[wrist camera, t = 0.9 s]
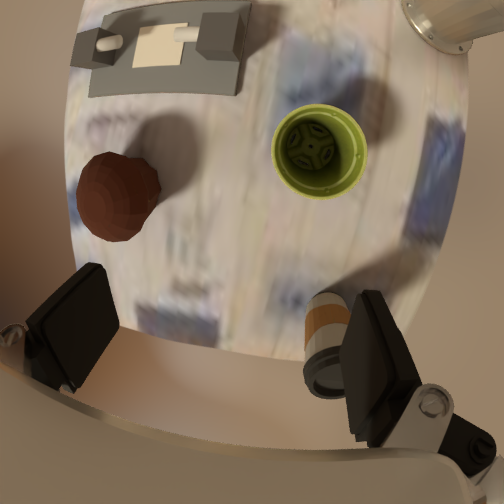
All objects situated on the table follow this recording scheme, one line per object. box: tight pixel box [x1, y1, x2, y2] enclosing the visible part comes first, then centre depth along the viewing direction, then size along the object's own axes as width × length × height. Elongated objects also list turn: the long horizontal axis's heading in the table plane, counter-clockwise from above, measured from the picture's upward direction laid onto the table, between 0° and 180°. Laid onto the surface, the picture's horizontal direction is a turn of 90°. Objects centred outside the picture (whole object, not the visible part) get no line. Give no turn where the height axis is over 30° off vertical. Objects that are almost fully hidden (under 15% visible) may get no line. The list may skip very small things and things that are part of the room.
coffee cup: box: [303, 292, 351, 399], centre depth 35 cm, size 8×8×15 cm
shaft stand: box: [70, 0, 251, 98], centre depth 24 cm, size 14×22×6 cm, turn 82°
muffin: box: [76, 152, 162, 242], centre depth 32 cm, size 12×11×10 cm
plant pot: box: [271, 104, 368, 200], centre depth 28 cm, size 9×9×9 cm
